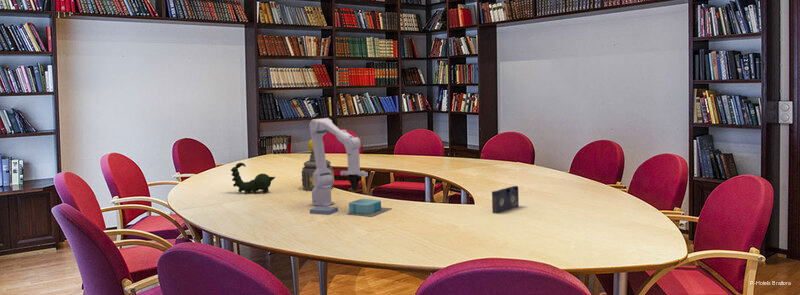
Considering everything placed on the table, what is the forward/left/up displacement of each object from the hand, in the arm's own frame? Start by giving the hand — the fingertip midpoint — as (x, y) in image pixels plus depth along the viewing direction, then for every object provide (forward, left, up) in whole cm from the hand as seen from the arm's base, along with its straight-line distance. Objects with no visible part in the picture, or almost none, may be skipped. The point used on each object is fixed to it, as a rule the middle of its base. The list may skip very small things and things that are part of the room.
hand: (354, 190), depth 303 cm
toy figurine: (-82, +18, -10) cm, 85 cm away
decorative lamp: (-55, +43, -10) cm, 71 cm away
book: (-12, -9, -10) cm, 19 cm away
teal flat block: (0, 0, -7) cm, 7 cm away
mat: (+8, 0, -10) cm, 13 cm away
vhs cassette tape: (+67, +27, -10) cm, 73 cm away
